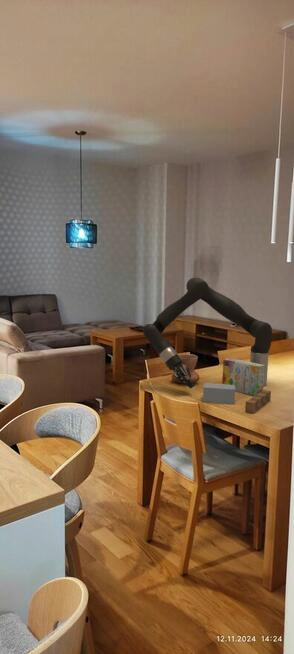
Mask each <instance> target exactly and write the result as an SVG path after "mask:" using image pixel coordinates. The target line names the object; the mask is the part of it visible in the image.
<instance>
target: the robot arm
mask: <svg viewBox="0 0 294 654" xmlns="http://www.w3.org/2000/svg"><path fill="white" fill-rule="evenodd" d="M185 286H186V290H187V291H186V293H184V295H182V296H181V297H180V298H179V299H177V300H176V301H174V302H173V303H171V304H169V305H168V306H167V307H166V308H164V309H163V310H162V311H161V312H160V313H159V314H158V315H157V316H156V318H155V321H154V322H152V323H147V324H146V325H144V326H143V329H142V333H143V335H144V337H145V338H146V340H147V341H148V342H149V343H150V344H151V345H152V347H153V348H154V349H155V351H156V352H157V354H158V355H159V357H160V358H161V360H162V362H163V363H164V364H165V366H166V367H167V368H168V369H169V371H172V372H173V373H175V374H174V375H173V376H174V377H175V378H177V379H178V380H180V381H181V382H186V384H185V385H187V387H188V388H189V389H193V388H194V387H195V383H192V381H191V380H190V378H191V374H190V370H189V368H187V369H186V368H185V367H184V366H183V365H182V359H181V358H180V357H179V356H178V354H179V353H178V352H177V351H176V350H175V349H174V348H173V347H172V345H170V343H169V342H168V340H166V339H165V338H164V337H163V335H162V334H163V332H164V331H165V330H166V328H167V327H168V326H169V325H170V324H172V323H173V322H174V321H175V320H176V319H177V318H178V317H179V316H180V315H181V314H182V313H183V312H184V311H186V310H187V309H189V308H191V306H193V304H195V303H197V302H198V301H199V300H202V301H203V302H204V303H206V305H209V307H211V308H212V309H213V310H214V311H215V312H217V313H218V314H219V315H220V316H222V317H224V318H225V319H227V320H229V321H230V322H232V323H233V324H235V325H238V326H239V327H241V329H244V330H245V331H246V332H247V333H248V334H249V335H250V336H251V337H253V338H254V344H253V345H251V347H250V354H249V355H250V358H249V362H252V363H257V364H262V365H265V369H264V382H263V387H265V386H267V385H268V383H267V382H268V381H267V380H268V371H269V369H268V367H269V353H270V349H271V346H272V338H273V328H272V326H271V324H270V323H268V322H265V321H261V320H259V319H256V318H254V317H253V316H252V315H249V314H248V313H247V312H246V311H245V310H244V308H243V307H242V306H241V305H240V304H238V303H237V302H236V301H234V300H233V299H231V298H229V296H228V297H227V296H226V295H224V294H223V293H220V292H218V291H216V290H214V289H213V288H211V287H210V286H209V284H208V282H206V280H204V279H202V278H200V277H192V278H190V279H188V280H187V282H186V285H185ZM188 375H189V376H188Z"/></svg>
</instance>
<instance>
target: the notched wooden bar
mask: <svg viewBox="0 0 294 654" xmlns="http://www.w3.org/2000/svg"><path fill="white" fill-rule="evenodd" d="M271 395H272V391H271V390H267V389H263V391H261V392H260V393H258V394H257V395H255V396H252V397H251V398H250V399H248V400H247V401H245V406H244V408H245V409H244V412H245V413H247V414H253V415H254V414H255V413H256V412H258V411H259V410H260V409H261V408H262V407H264V406H265V405H266V404H268V403H269V402H271Z"/></svg>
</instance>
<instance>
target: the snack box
mask: <svg viewBox="0 0 294 654" xmlns="http://www.w3.org/2000/svg"><path fill="white" fill-rule="evenodd" d="M264 369H265V365H262V364H257V363H252V362H250V361H248V360H247V361H246V360H242V359H236V358H231V357H227V358H223V362H222V376H221V379H222V381H221V384H226V385H235V392H238V393H242V394H246V395H250V396H252V397H254V396H255V395H257V394H258V393H260V392H261V391H263V390H264V386H263V382H264Z"/></svg>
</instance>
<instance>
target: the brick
mask: <svg viewBox="0 0 294 654" xmlns="http://www.w3.org/2000/svg"><path fill="white" fill-rule="evenodd" d="M202 391H203V392H202V393H203V395H202V402H203V403H213V404H223V405H235V398H236V397H235V395H236V391H235V385H226V384H222V383H208V382H203V389H202Z"/></svg>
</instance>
